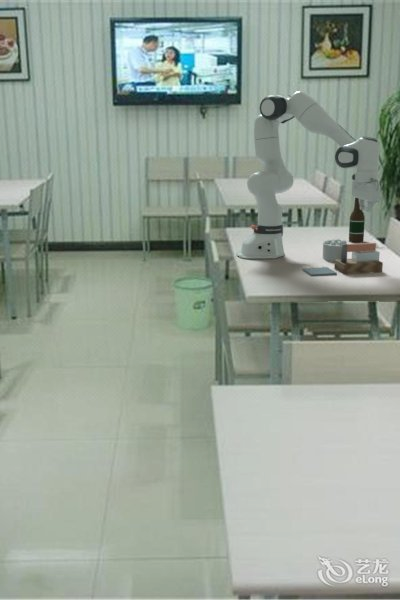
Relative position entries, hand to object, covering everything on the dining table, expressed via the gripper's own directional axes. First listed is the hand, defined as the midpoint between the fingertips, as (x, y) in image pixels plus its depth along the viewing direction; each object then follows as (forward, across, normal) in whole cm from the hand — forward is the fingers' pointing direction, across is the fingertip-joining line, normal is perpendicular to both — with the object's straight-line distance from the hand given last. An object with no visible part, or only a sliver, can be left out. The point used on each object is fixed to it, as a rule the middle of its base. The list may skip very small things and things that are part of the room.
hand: (365, 210), depth 289 cm
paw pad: (+24, +18, +5) cm, 31 cm away
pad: (+24, -5, +22) cm, 33 cm away
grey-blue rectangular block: (+20, -6, +2) cm, 21 cm away
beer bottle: (+24, +55, -22) cm, 64 cm away
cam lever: (+20, -6, +5) cm, 21 cm away
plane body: (+24, -6, +5) cm, 25 cm away
